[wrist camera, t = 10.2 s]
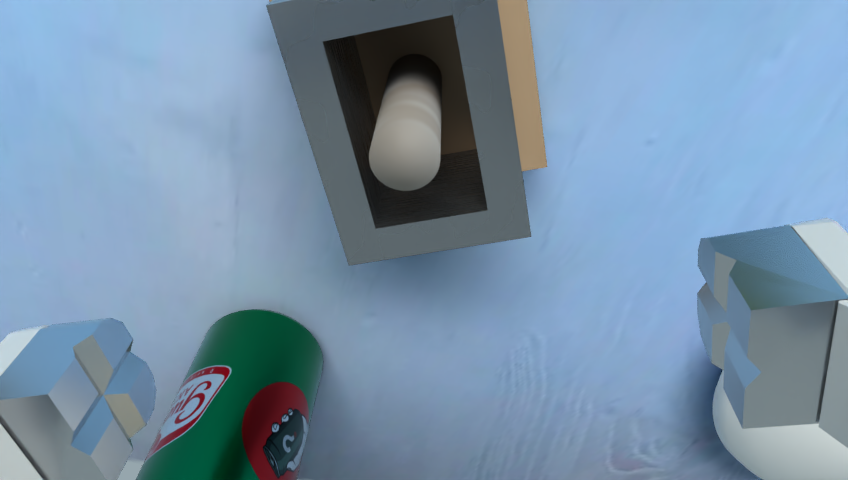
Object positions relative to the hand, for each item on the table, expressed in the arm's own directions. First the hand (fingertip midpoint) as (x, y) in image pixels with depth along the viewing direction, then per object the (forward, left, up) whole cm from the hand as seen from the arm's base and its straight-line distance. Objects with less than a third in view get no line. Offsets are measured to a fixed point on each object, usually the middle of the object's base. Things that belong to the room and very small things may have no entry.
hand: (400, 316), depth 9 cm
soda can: (+9, +11, -14) cm, 21 cm away
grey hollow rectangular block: (0, 0, -12) cm, 12 cm away
